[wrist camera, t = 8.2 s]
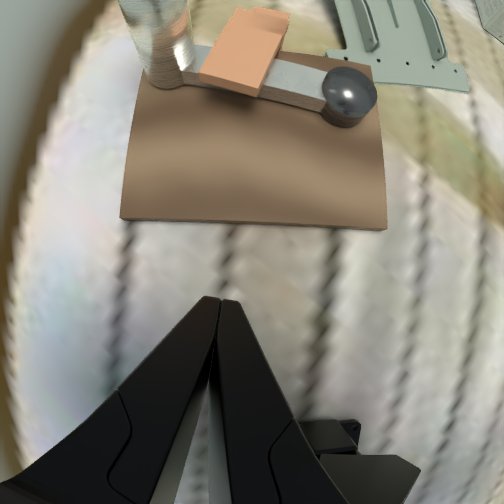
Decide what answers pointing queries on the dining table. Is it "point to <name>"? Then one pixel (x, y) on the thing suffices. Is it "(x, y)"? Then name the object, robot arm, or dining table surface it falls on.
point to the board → (252, 159)
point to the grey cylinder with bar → (274, 88)
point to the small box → (492, 16)
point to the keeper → (245, 50)
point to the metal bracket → (398, 44)
